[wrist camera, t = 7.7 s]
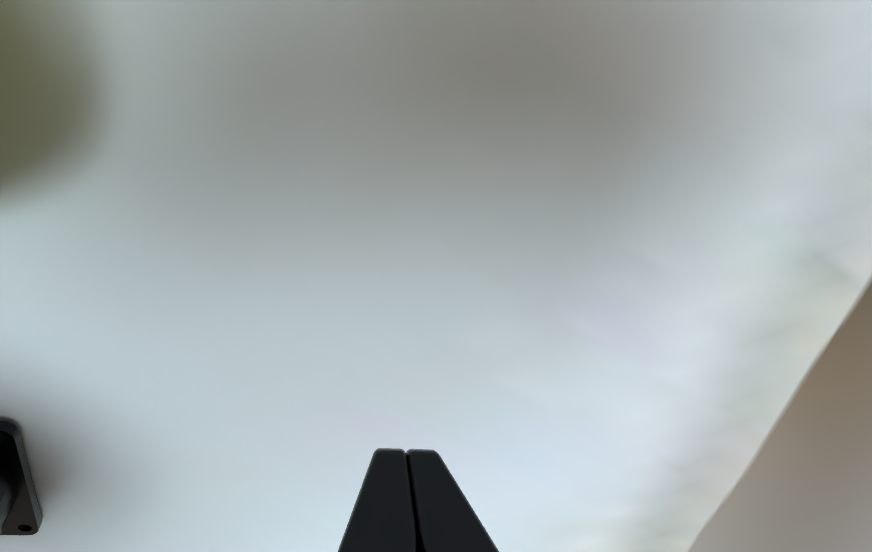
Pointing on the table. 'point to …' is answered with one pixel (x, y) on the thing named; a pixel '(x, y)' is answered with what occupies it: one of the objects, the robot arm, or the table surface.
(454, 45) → the table surface
